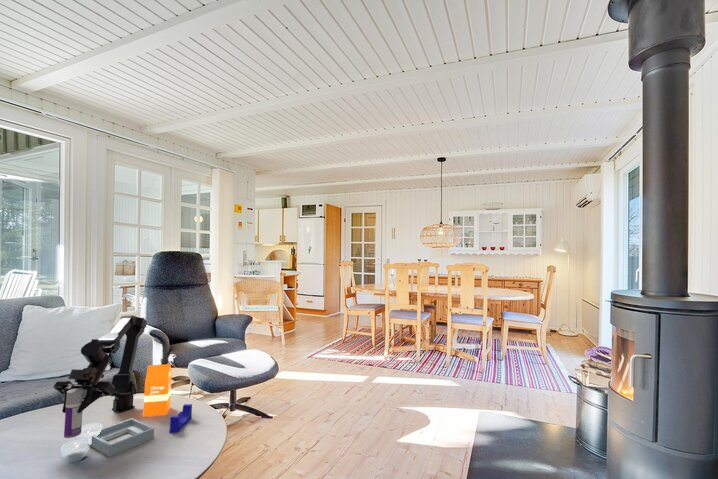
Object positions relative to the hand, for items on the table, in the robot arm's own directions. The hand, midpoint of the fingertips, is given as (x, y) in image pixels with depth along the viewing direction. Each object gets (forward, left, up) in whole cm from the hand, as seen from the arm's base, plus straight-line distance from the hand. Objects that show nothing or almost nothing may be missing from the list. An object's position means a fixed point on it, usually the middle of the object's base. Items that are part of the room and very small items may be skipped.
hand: (70, 412), depth 122 cm
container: (-1, -1, -8) cm, 8 cm away
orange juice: (-34, -6, -13) cm, 37 cm away
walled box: (-13, +7, -13) cm, 20 cm away
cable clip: (-32, +13, -14) cm, 37 cm away
